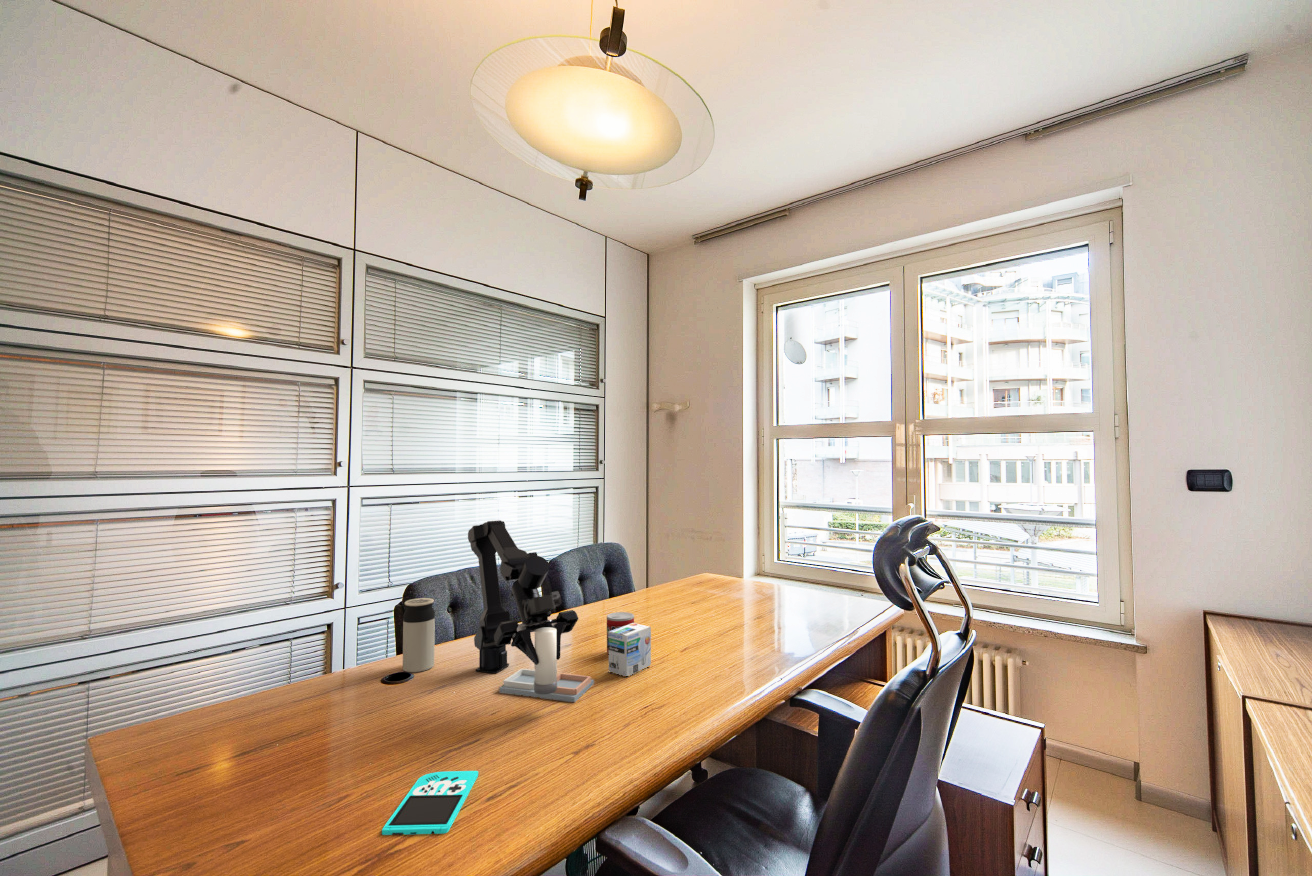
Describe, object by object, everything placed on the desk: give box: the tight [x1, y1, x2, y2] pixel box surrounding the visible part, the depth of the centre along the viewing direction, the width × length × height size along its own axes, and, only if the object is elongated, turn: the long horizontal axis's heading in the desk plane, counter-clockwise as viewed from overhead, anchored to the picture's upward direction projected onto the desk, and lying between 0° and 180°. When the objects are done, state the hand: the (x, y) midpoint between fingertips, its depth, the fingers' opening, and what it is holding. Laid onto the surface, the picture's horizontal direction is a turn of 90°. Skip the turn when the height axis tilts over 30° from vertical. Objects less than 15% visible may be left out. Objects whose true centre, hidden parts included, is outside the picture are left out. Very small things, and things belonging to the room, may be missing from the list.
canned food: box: [606, 611, 635, 655], centre depth 162 cm, size 8×8×11 cm
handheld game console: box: [381, 770, 479, 836], centre depth 90 cm, size 10×16×1 cm, turn 1°
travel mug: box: [402, 597, 436, 673], centre depth 152 cm, size 8×8×18 cm
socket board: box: [498, 668, 595, 703], centre depth 137 cm, size 20×11×2 cm, turn 72°
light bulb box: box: [608, 622, 652, 677], centre depth 150 cm, size 11×7×11 cm, turn 143°
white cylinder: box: [534, 627, 558, 694], centre depth 124 cm, size 5×5×13 cm
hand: (548, 661), depth 123 cm, fingers closed on white cylinder, 5 cm apart
